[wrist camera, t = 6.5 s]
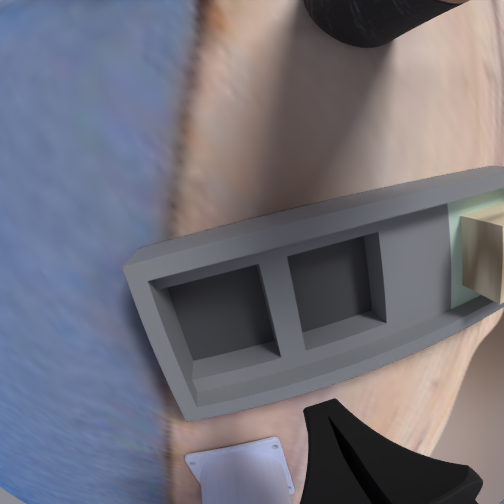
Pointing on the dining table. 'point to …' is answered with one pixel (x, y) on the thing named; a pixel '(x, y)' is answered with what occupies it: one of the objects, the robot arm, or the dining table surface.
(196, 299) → the tray
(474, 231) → the birch block
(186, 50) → the dining table surface
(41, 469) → the dining table surface
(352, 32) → the travel mug
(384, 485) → the robot arm
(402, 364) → the dining table surface
